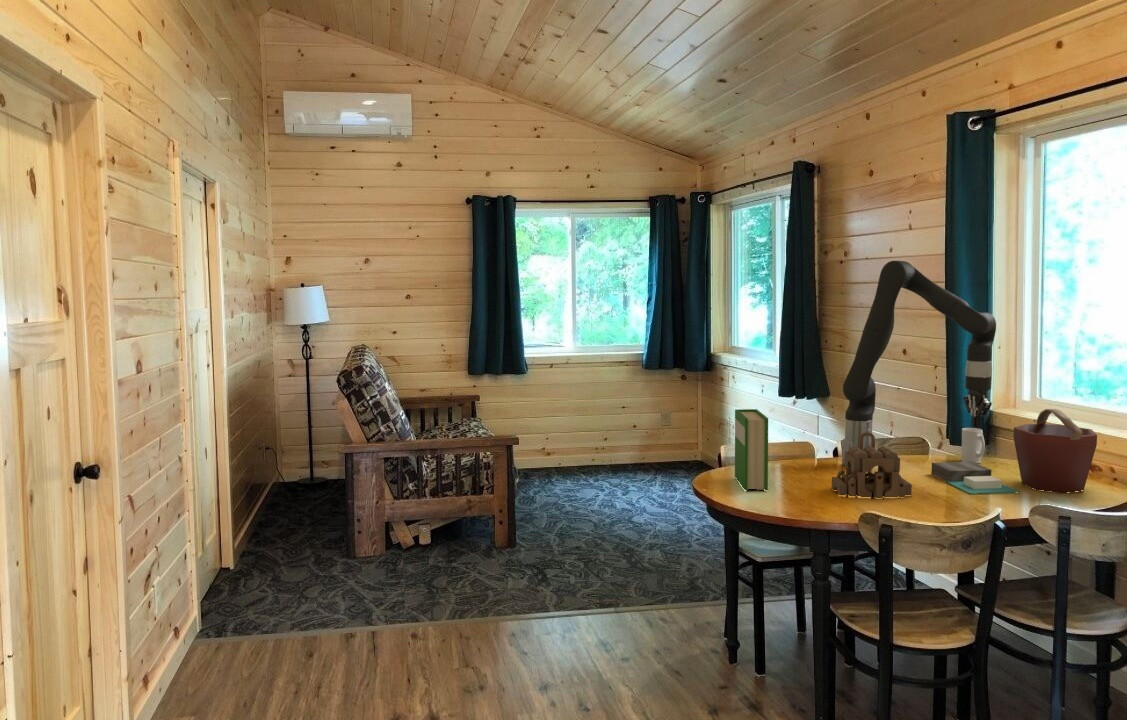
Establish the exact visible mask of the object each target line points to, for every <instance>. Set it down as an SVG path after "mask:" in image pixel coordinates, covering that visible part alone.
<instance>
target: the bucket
mask: <svg viewBox="0 0 1127 720" xmlns="http://www.w3.org/2000/svg"><path fill="white" fill-rule="evenodd" d="M1051 414H1053V415H1054V416H1055V417H1056V418H1057V419H1058V420H1059V421H1060V422H1061V423H1062V424H1058V423H1057V424H1055V423H1053V424H1051V423H1047V420H1048V419H1049V416H1050V415H1051ZM1012 436H1013V442H1014V447H1015V452H1016V458H1017V459H1016V460H1017V464H1018V470H1019V475H1020V480H1021V485H1022V484H1024V485H1023V486H1025V485H1027V486H1029V487H1031V488H1034V489H1036V490H1044V491H1052V492H1059V493H1067V492H1075V491H1081V490H1084V491H1085V488H1086V484H1087V480H1088V477H1089V473H1090V470H1091V465H1092V462H1093V458H1094V455H1095V453H1096V449H1097V445H1098V435H1097V433H1096V432H1095V431H1094V430H1093V429H1091V428H1086V427H1079V426H1078V425H1077V424H1076V423H1074V422H1073V420H1072V419H1071V418H1070V417H1068V416H1067V415H1066V414H1065V413H1064V412H1063V411H1061V410H1060V409H1056V408H1045V409H1044V410H1042V411H1040V412H1039V414H1038V415H1037V419H1036V423H1025V424H1022V425H1019V426H1015V427H1013V435H1012ZM1027 486H1026V487H1027ZM1029 487H1028V488H1029ZM1031 488H1030V489H1031ZM1034 489H1033V490H1034ZM1036 490H1035V491H1036ZM1044 491H1043V492H1044ZM1052 492H1051V493H1052ZM1059 493H1058V494H1059Z"/></svg>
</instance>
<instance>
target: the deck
mask: <svg viewBox="0 0 1127 720" xmlns="http://www.w3.org/2000/svg"><path fill="white" fill-rule="evenodd" d="M930 475H932V476H934V477H936V478H939V479H940V478H941V480H942V479H943V481H944V480H945V481H950V482H951V481H964V477H972V476H992V469H990V468H987V467H986V466H982V465H980V464H976V463H974V462H962V461H950V462H949V461H943V462H931V474H930ZM945 481H944V482H945Z"/></svg>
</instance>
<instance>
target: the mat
mask: <svg viewBox="0 0 1127 720" xmlns="http://www.w3.org/2000/svg"><path fill="white" fill-rule="evenodd" d="M945 482H946V484H947V483H948V484H947V485H949V484H951V485H950V486H952V485H953V486H952V487H954V486H955V487H954V488H956V487H957V488H956V489H958V488H959V489H958V490H960V489H961V490H960V491H962V490H963V491H962V492H964V491H965V492H964V493H966V492H968V493H970V494H971V495H975V494H974V493H1004V494H1016V493H1015V492H1020V493H1021V491H1019V490H1017V489H1015V488H1013V487H1012V486H1008V485H1006V484H1004V483H1002V488H993V489H973V488H971V487H968V486H966V485H964V481H951V482H950V481H944V483H945ZM968 493H967V494H968ZM970 494H969V495H970Z"/></svg>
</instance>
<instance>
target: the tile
mask: <svg viewBox="0 0 1127 720" xmlns="http://www.w3.org/2000/svg"><path fill="white" fill-rule="evenodd" d="M1002 482H1003V480H1002V479H999V478H997V477H995V476H992V475H991V476H972V477H964V485H966V486H968V487H971V488H973V489H993V488H1002V484H1003V483H1002Z"/></svg>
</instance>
